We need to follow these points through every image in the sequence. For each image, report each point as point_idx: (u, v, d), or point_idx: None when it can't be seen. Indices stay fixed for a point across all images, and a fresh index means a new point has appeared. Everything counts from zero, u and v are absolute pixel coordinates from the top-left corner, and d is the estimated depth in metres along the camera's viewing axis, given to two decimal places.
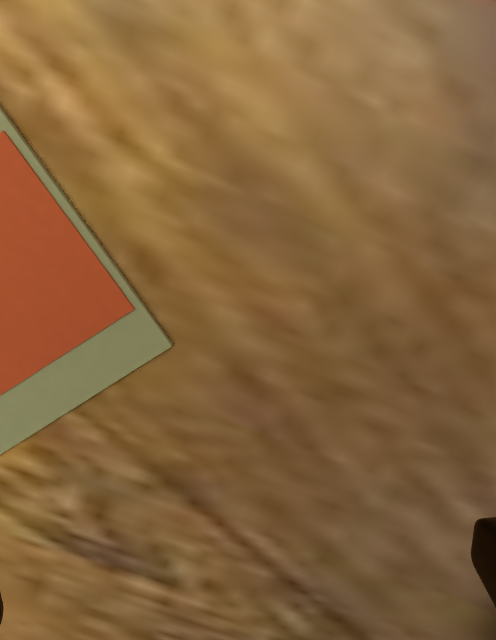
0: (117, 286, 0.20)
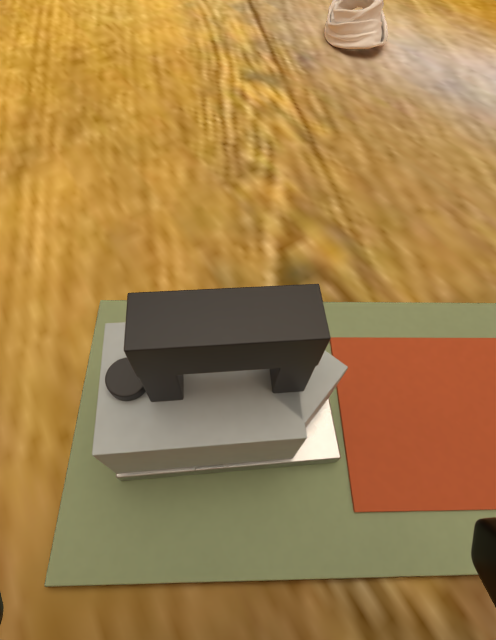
0: None
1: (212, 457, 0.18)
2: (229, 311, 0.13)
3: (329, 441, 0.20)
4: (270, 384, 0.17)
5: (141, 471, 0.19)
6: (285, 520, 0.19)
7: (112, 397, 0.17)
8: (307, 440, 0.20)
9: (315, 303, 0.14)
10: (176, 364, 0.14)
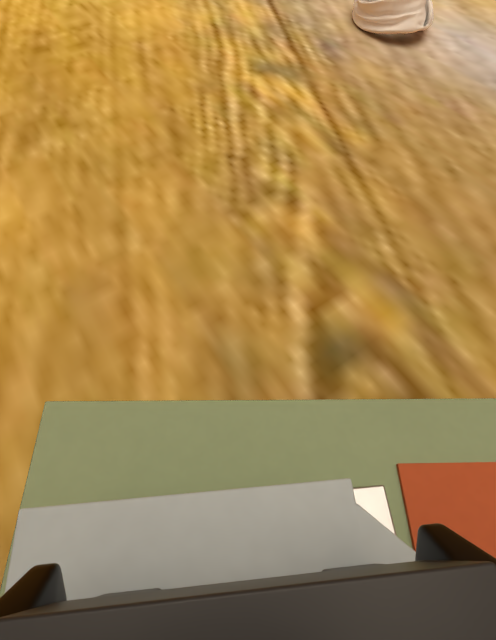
0: None
1: None
2: None
3: None
4: None
5: None
6: None
7: None
8: None
9: None
10: None
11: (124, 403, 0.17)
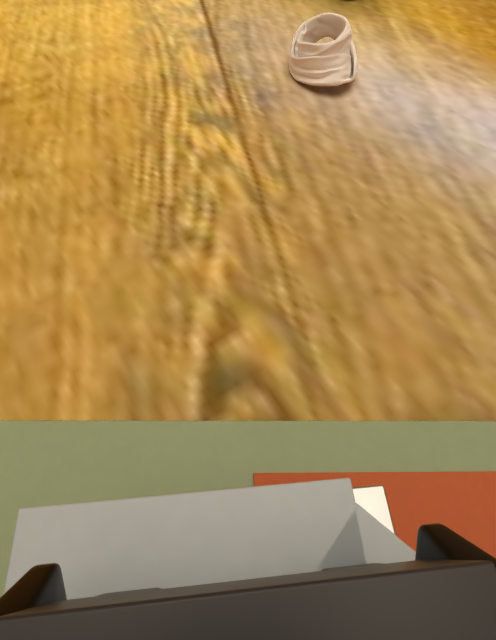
0: None
1: None
2: None
3: None
4: None
5: None
6: None
7: None
8: None
9: None
10: None
11: (44, 422, 0.21)
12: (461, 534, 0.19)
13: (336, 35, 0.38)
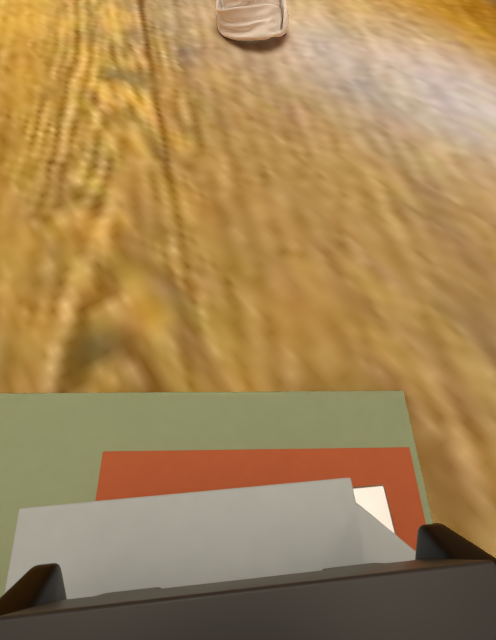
0: None
1: None
2: None
3: None
4: None
5: None
6: None
7: None
8: None
9: None
10: None
11: None
12: None
13: None
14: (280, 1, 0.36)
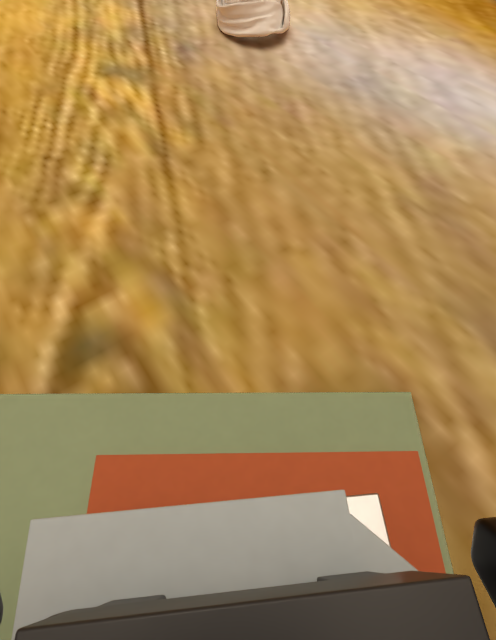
0: None
1: None
2: None
3: None
4: None
5: None
6: None
7: None
8: None
9: None
10: None
11: None
12: None
13: None
14: None
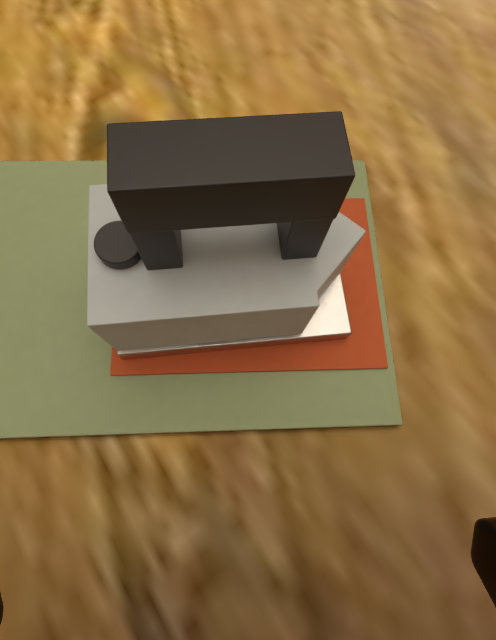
0: (383, 340, 0.20)
1: (217, 331, 0.17)
2: (232, 144, 0.11)
3: (340, 316, 0.19)
4: (279, 250, 0.16)
5: (143, 348, 0.18)
6: (37, 384, 0.19)
7: (104, 266, 0.15)
8: (317, 316, 0.19)
9: (337, 134, 0.11)
10: (172, 214, 0.12)
11: None
12: None
13: None
14: None
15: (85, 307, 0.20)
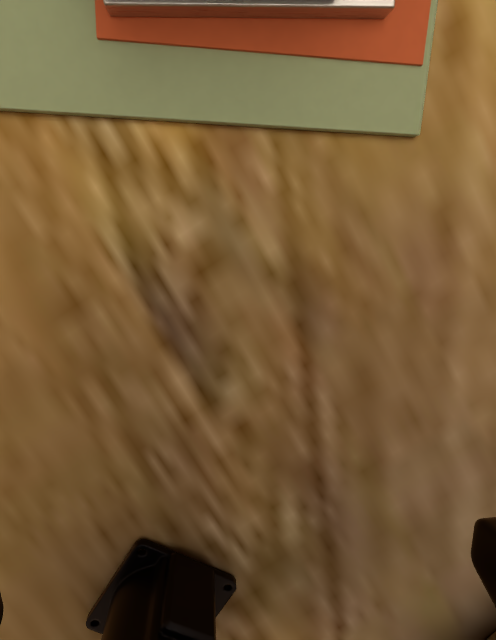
0: (426, 27, 0.17)
1: None
2: None
3: None
4: None
5: None
6: (7, 40, 0.16)
7: None
8: None
9: None
10: None
11: None
12: None
13: None
14: None
15: None
